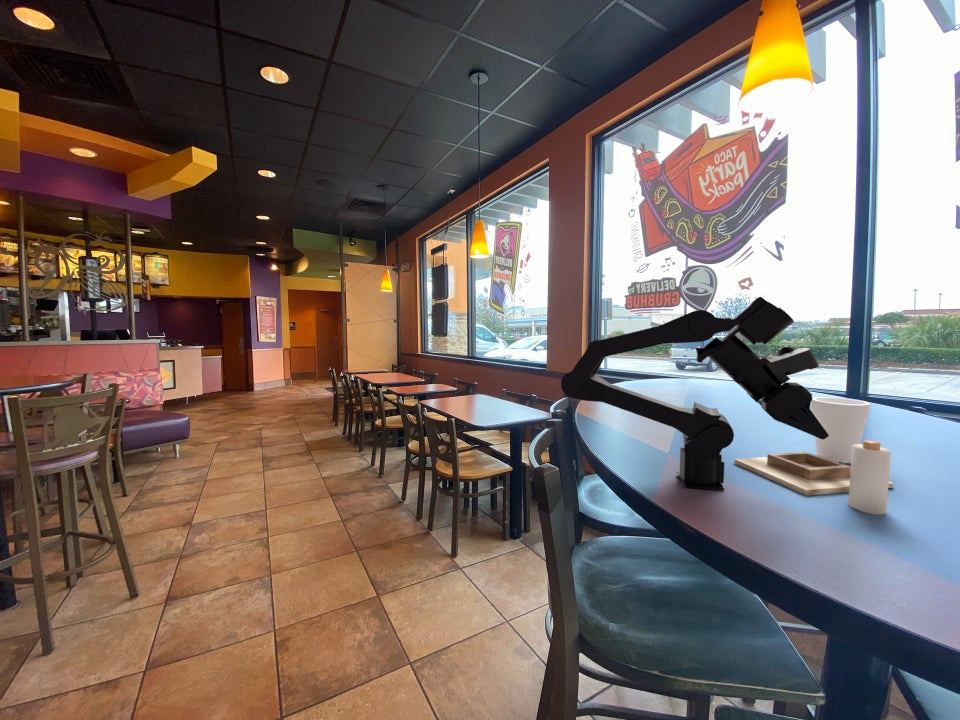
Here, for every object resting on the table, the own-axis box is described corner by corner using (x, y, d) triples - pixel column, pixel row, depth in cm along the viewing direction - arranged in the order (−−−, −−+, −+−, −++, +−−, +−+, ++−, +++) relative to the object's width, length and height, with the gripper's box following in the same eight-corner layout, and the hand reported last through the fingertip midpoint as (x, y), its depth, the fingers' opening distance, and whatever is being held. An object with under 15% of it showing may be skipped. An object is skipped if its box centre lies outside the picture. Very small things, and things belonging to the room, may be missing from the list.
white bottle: (860, 513, 61) (865, 445, 60) (841, 500, 65) (845, 437, 64) (894, 515, 60) (899, 447, 59) (872, 503, 64) (877, 438, 63)
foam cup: (845, 467, 80) (849, 406, 78) (798, 453, 88) (801, 398, 87) (876, 462, 82) (881, 403, 81) (827, 449, 91) (831, 395, 90)
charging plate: (806, 495, 67) (807, 479, 67) (734, 463, 83) (734, 450, 83) (893, 488, 69) (894, 472, 69) (807, 458, 85) (808, 445, 85)
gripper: (797, 332, 57) (893, 411, 53) (770, 330, 74) (842, 390, 70) (732, 381, 61) (817, 458, 57) (720, 369, 78) (785, 428, 74)
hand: (816, 430), depth 64 cm, fingers open, 9 cm apart
